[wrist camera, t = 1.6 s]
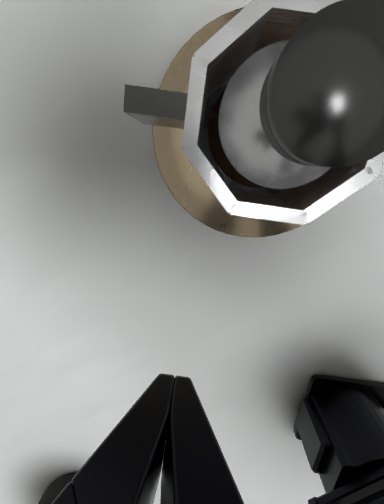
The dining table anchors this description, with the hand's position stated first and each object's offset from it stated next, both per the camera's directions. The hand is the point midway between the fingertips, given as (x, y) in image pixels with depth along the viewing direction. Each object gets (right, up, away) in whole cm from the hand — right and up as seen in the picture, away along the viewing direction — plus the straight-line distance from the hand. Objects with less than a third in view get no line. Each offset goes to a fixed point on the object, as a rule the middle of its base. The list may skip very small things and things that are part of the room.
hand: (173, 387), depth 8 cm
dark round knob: (+4, +9, +4) cm, 11 cm away
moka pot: (+5, +11, +10) cm, 16 cm away
